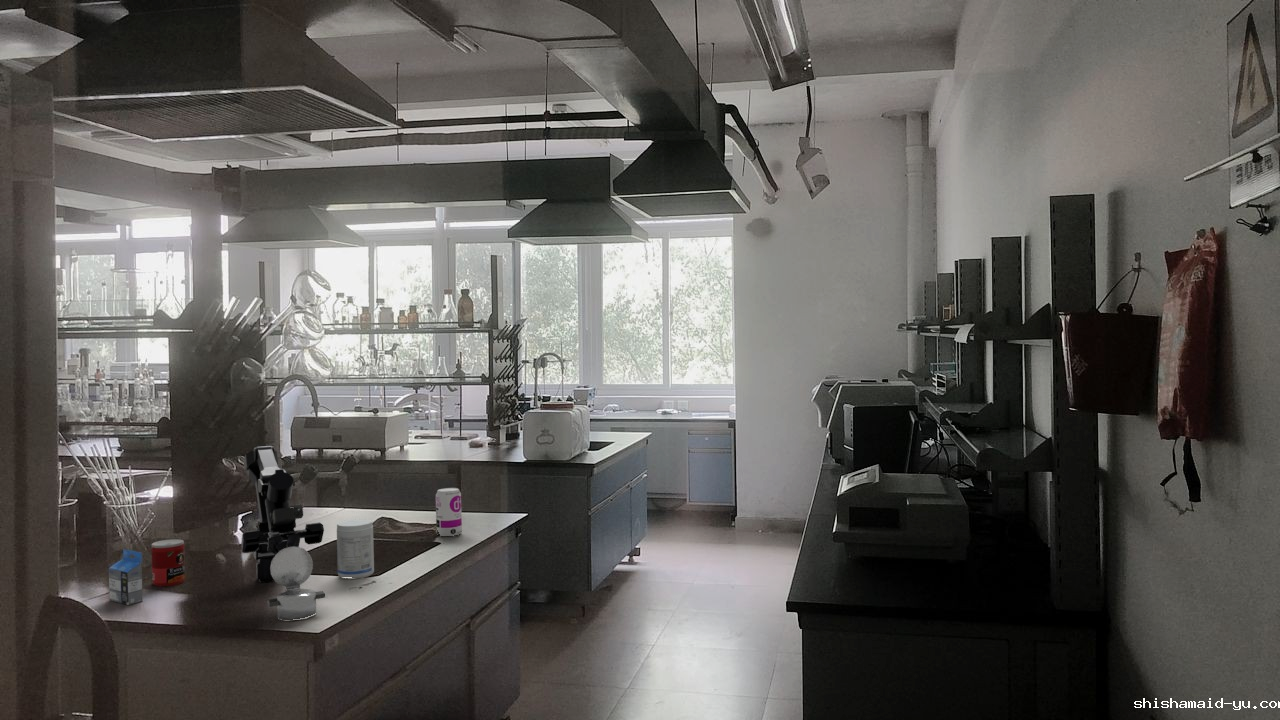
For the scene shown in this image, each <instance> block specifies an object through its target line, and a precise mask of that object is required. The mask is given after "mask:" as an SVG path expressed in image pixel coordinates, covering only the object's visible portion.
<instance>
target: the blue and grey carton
mask: <svg viewBox="0 0 1280 720" xmlns="http://www.w3.org/2000/svg"><path fill="white" fill-rule="evenodd" d="M122 551H123V552H122V559H120V560H119V561H118V562H115V563H114V564H113V565H111V566H110V567H108V583H109V585H108V587H109V601H110V602H111V601H112V602H116V603H120V604H123V605H127V606H131V605H135V604H138V602H139V603H142V602H143V575H142V573H143V571H142V565H143V564H142V561H143V560H142V559H143V557H142V554H143V552H141V551H136V550H130V549H126V548H123V549H122ZM131 556H134V557H131Z"/></svg>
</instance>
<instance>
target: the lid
mask: <svg viewBox="0 0 1280 720" xmlns="http://www.w3.org/2000/svg"><path fill="white" fill-rule="evenodd" d="M313 567H314V561H313V558H312V556H311V554H310V553H309V552H308V551H307V550H306V549H305V548H303V547H300V546H299V547H287V548H284V549H282V550H281V551H279V552H278V553H277V554H276V555H275V556H274V558H273V560H272V562H271V567H270V571H271V575H272V577H273V579H274V580H275V581H274V582H275V583H277V584H278V585H280V586H282V587H284V588H285V590H290V589H296V588H300V589H301V585H302V584H304V583H305V582H306V581H307V580H308V579H309V578H310V577H311V574H312V573H313V569H314V568H313Z"/></svg>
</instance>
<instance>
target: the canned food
mask: <svg viewBox="0 0 1280 720" xmlns="http://www.w3.org/2000/svg"><path fill="white" fill-rule="evenodd" d="M150 546H151V548H150V549H151V553H150V554H151V578H152V579H151V580H152V584H153V585H154V586H155V587H171V586H177V585H180V584H182V583H184V581H185V579H186V569H185V568H186V567H185V565H186V563H185V562H186V561H185V559H186V558H185V541H184V540H183V539H178V538H177V539H175V538H173V539H172V538H170V539H162V540H159V541H155V542H153V543H151V545H150Z"/></svg>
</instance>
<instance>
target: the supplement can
mask: <svg viewBox="0 0 1280 720" xmlns="http://www.w3.org/2000/svg"><path fill="white" fill-rule="evenodd" d="M462 515H463V514H462V492H461V491H460V488H457V487H445V488H439V489H437V491H436V493H435V521H436V524H435V525H436V527H435V529H436V528H437V530H438V532H439V534H440V535H442V536H453V535H458V536H460V535H461V533H463V532H462V531H463V526H462V525H463V523H462V521H463V520H462V518H463V517H462ZM437 530H436V531H437ZM459 534H460V535H459ZM453 537H454V536H453Z"/></svg>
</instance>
